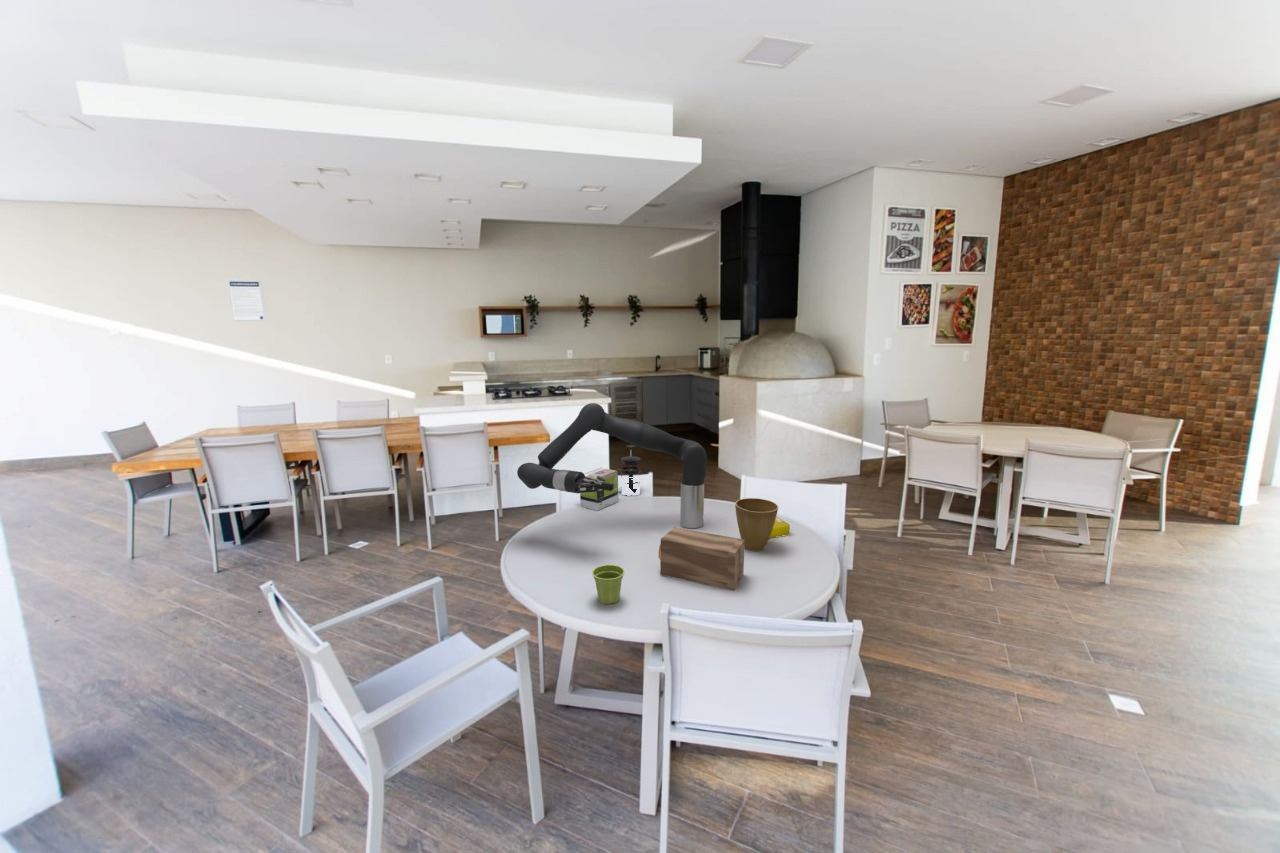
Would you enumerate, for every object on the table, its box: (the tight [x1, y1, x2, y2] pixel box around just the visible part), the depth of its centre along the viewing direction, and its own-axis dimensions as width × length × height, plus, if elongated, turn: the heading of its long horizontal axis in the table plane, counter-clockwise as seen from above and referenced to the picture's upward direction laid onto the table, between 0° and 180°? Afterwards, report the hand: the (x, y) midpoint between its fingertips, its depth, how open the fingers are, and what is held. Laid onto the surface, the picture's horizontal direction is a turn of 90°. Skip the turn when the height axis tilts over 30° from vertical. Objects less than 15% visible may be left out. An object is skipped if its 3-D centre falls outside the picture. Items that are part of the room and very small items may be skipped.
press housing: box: [659, 527, 745, 591], centre depth 171 cm, size 11×24×12 cm, turn 65°
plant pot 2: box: [734, 497, 779, 552], centre depth 193 cm, size 15×15×16 cm
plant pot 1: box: [591, 564, 625, 605], centre depth 157 cm, size 9×9×9 cm
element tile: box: [769, 516, 791, 539], centre depth 209 cm, size 15×15×5 cm
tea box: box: [579, 467, 619, 512], centre depth 238 cm, size 15×10×15 cm
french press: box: [616, 444, 641, 493], centre depth 252 cm, size 12×9×23 cm
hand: (612, 487), depth 181 cm, fingers closed
